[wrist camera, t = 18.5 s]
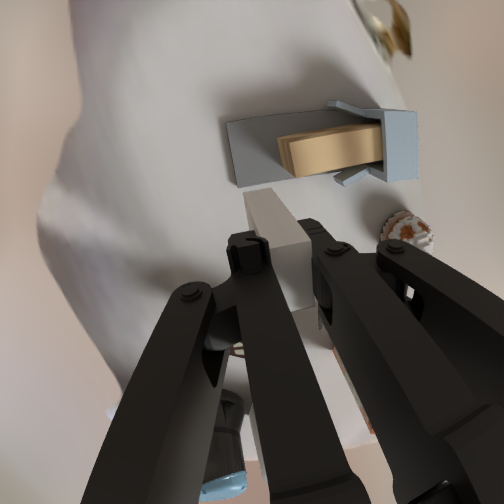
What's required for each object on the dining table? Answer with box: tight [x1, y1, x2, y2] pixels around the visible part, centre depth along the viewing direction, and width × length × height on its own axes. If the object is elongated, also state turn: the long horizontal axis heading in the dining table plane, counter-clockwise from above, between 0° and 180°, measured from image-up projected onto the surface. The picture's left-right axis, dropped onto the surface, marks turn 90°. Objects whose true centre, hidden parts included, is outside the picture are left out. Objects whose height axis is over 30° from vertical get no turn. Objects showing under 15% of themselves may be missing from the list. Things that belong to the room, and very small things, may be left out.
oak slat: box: [277, 121, 383, 178], centre depth 32 cm, size 14×4×6 cm, turn 103°
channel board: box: [226, 100, 419, 188], centre depth 32 cm, size 22×11×8 cm, turn 98°
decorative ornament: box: [380, 210, 434, 256], centre depth 37 cm, size 8×8×15 cm
